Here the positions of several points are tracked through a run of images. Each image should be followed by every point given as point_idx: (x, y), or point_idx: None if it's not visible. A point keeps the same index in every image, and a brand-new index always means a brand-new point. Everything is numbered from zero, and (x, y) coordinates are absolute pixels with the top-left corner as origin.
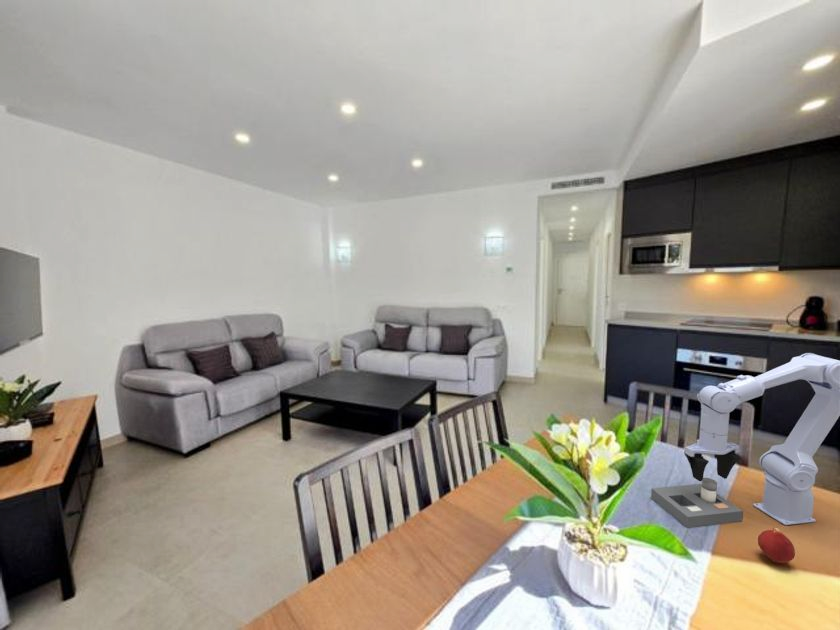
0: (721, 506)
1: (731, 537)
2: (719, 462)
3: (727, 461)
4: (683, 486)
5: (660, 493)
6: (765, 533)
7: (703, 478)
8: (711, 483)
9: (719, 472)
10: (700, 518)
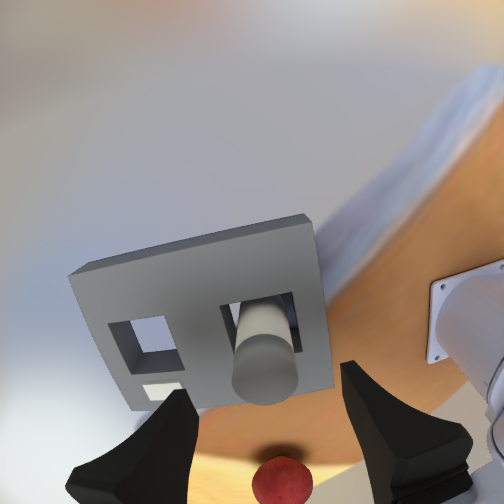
0: None
1: (240, 416)
2: (366, 421)
3: (372, 482)
4: (204, 252)
5: (87, 307)
6: (264, 500)
7: (248, 363)
8: (259, 398)
9: (345, 383)
10: None
